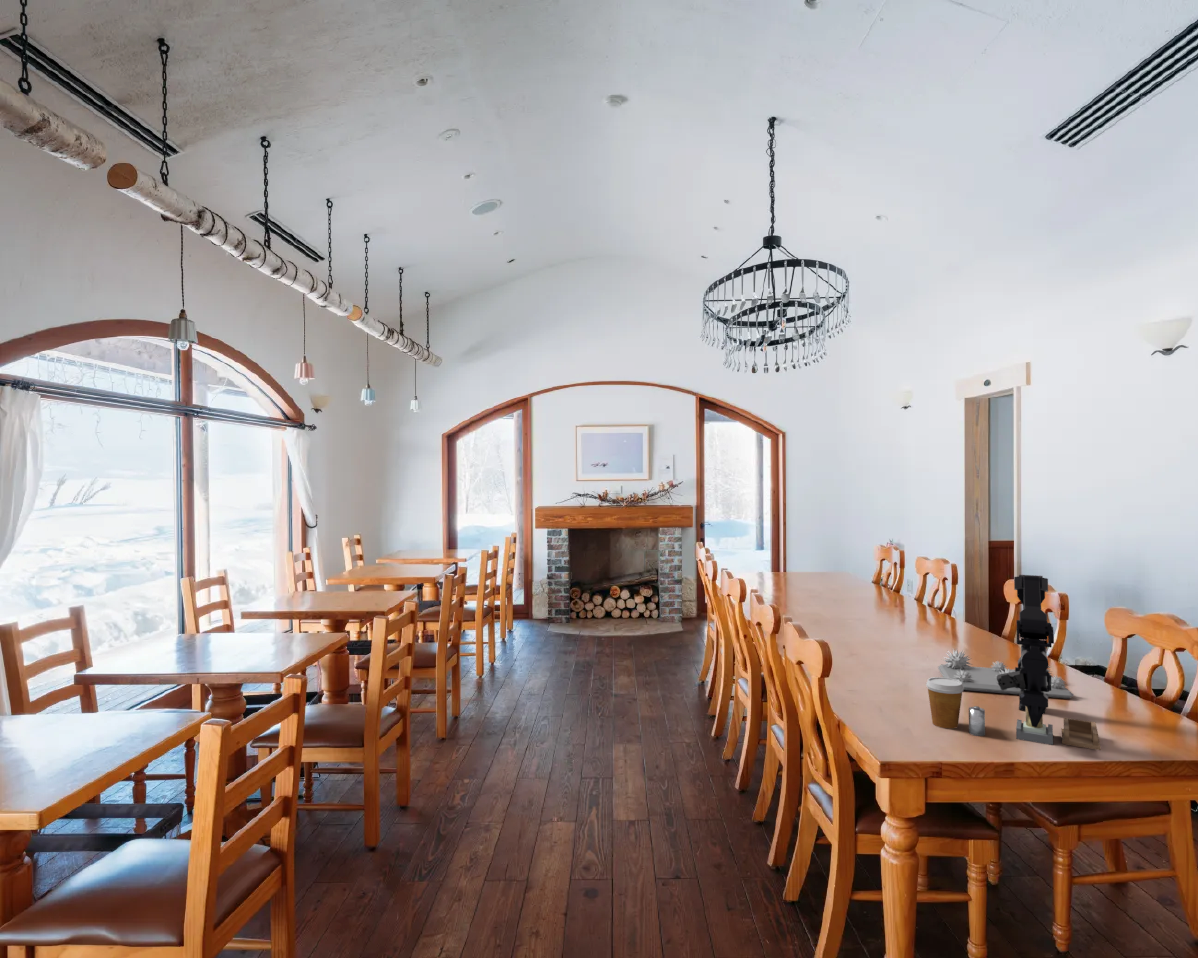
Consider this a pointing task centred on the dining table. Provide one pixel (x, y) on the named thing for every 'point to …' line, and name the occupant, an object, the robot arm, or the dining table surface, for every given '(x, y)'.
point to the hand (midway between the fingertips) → (1034, 724)
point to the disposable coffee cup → (945, 701)
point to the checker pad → (1031, 729)
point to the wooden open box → (1080, 734)
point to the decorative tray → (990, 677)
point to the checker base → (1034, 734)
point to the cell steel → (976, 721)
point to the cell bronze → (1028, 721)
